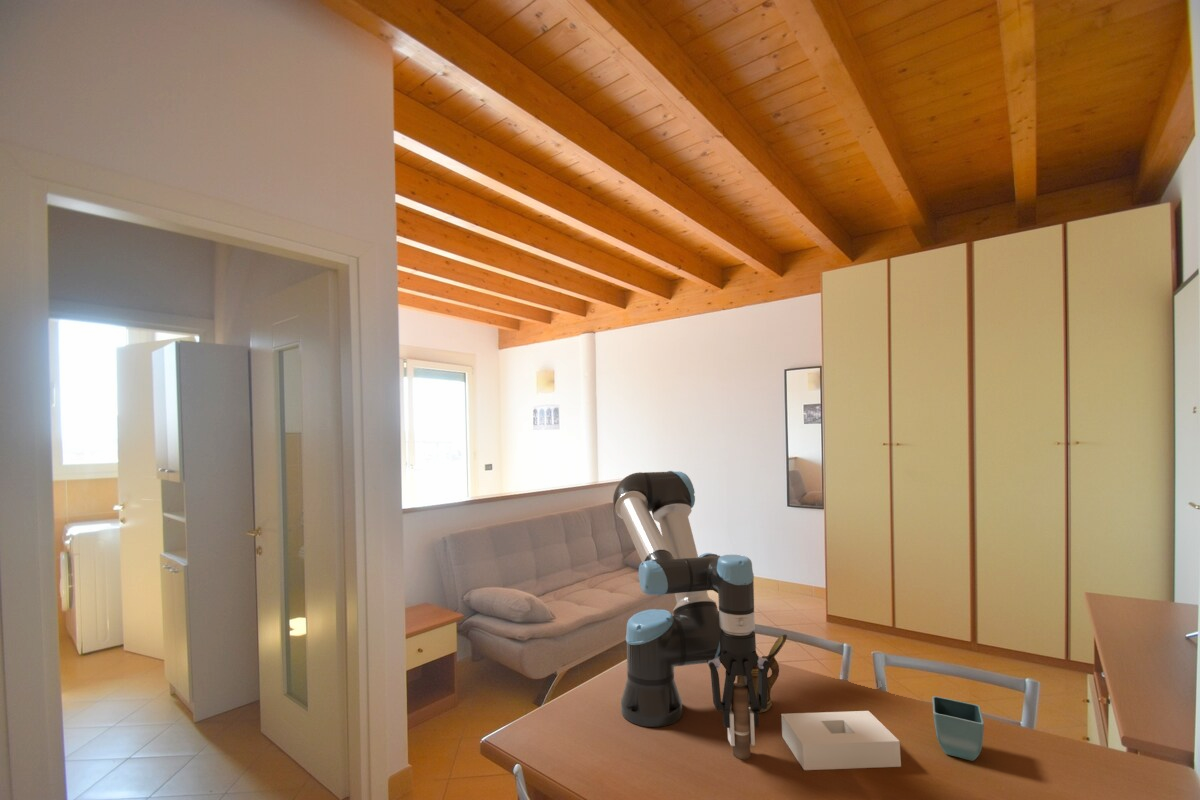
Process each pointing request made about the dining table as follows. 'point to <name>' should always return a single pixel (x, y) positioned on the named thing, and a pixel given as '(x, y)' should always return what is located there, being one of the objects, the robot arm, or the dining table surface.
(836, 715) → the socket block
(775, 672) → the wooden mug
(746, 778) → the dining table surface
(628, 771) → the dining table surface
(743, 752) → the walnut peg
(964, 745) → the flower pot
